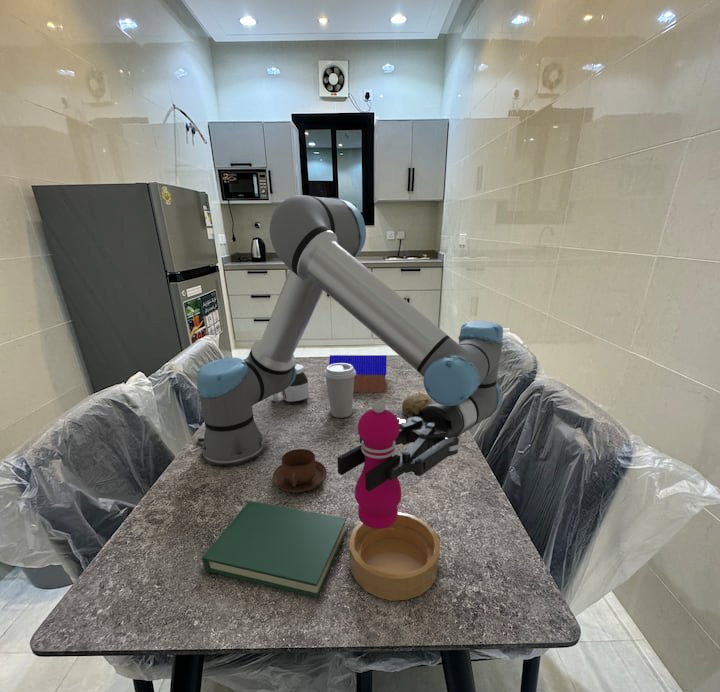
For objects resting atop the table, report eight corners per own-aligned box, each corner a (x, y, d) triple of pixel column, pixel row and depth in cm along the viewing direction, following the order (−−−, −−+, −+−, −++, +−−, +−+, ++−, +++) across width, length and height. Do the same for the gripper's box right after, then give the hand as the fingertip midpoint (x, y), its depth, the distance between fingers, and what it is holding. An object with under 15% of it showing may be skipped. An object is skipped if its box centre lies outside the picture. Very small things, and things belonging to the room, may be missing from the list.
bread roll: (399, 424, 119) (396, 408, 113) (407, 400, 125) (405, 383, 119) (431, 430, 115) (429, 413, 110) (438, 404, 121) (437, 387, 116)
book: (204, 571, 64) (201, 557, 63) (251, 512, 77) (249, 500, 76) (317, 598, 59) (316, 584, 58) (346, 530, 72) (346, 518, 71)
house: (333, 380, 146) (332, 350, 141) (386, 380, 144) (386, 350, 140) (329, 392, 135) (327, 360, 130) (386, 392, 133) (386, 360, 129)
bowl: (339, 590, 60) (337, 566, 58) (363, 526, 73) (363, 505, 71) (432, 612, 56) (435, 587, 54) (441, 541, 69) (443, 519, 67)
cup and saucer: (332, 491, 83) (330, 467, 81) (276, 502, 80) (272, 477, 78) (321, 462, 94) (319, 440, 91) (271, 470, 91) (268, 448, 88)
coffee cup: (353, 421, 114) (352, 373, 108) (322, 418, 116) (319, 371, 110) (359, 407, 122) (358, 362, 116) (330, 405, 124) (328, 361, 118)
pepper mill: (387, 538, 57) (389, 417, 49) (346, 520, 60) (342, 405, 52) (408, 510, 62) (413, 397, 54) (369, 495, 66) (369, 387, 58)
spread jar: (312, 402, 127) (310, 369, 122) (281, 411, 121) (277, 376, 116) (297, 391, 136) (294, 359, 131) (266, 398, 130) (262, 366, 125)
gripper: (489, 455, 64) (402, 526, 49) (405, 422, 76) (313, 471, 61) (495, 415, 61) (404, 477, 46) (406, 387, 73) (310, 429, 58)
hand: (353, 474), depth 53 cm, fingers closed on pepper mill, 5 cm apart
